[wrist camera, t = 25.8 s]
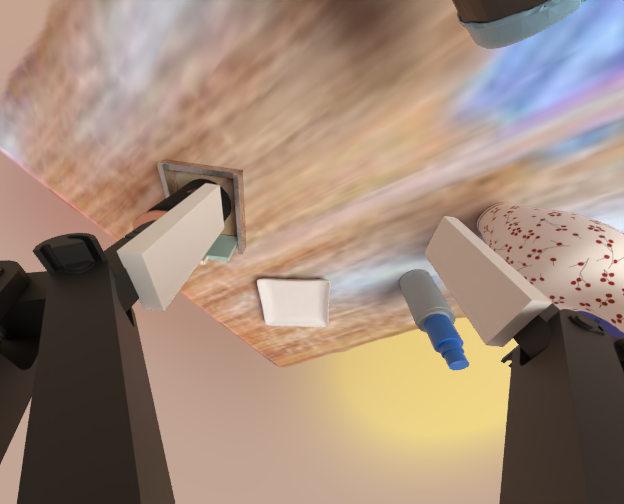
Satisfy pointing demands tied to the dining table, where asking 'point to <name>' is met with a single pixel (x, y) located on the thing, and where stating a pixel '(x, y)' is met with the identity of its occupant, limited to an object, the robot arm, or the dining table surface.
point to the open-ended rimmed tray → (170, 184)
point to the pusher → (221, 249)
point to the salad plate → (295, 302)
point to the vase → (561, 256)
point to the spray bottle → (433, 316)
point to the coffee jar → (179, 197)
